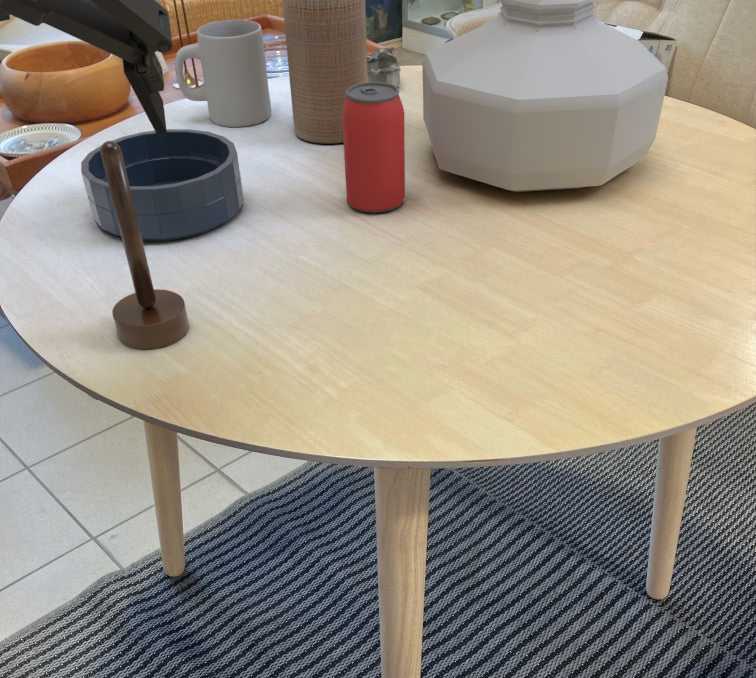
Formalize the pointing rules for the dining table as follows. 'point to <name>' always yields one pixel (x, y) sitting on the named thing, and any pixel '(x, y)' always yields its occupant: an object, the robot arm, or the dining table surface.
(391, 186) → the beer can
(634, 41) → the pot
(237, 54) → the mug
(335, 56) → the vase
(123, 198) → the brown handled stamp
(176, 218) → the bowl
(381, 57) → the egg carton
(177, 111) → the dining table surface
